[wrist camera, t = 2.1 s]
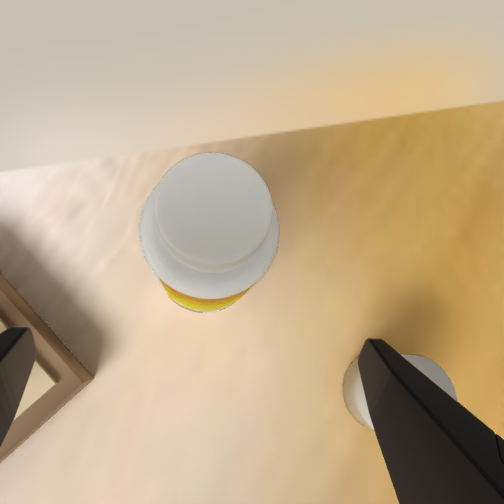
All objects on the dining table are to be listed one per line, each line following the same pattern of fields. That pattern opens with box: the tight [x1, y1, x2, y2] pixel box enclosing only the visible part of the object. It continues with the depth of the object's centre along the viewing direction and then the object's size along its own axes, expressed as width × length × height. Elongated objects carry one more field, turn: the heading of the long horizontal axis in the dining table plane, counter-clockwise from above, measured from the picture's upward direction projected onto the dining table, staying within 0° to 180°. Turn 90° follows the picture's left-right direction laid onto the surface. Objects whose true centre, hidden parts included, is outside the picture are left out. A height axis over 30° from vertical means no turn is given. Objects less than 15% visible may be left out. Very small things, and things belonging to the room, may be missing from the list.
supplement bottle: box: [139, 152, 279, 313], centre depth 16 cm, size 6×6×10 cm
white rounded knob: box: [342, 354, 457, 431], centre depth 19 cm, size 4×4×4 cm
